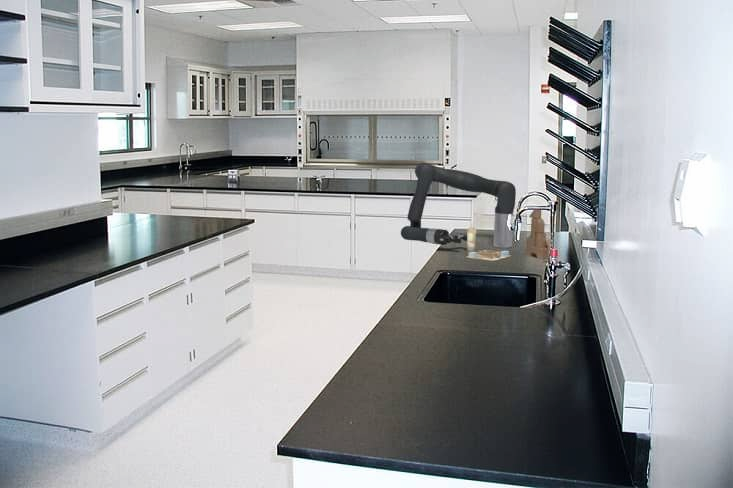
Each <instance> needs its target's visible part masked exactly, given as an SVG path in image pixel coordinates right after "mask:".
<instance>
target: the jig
mask: <svg viewBox="0 0 733 488" xmlns="http://www.w3.org/2000/svg"><path fill="white" fill-rule="evenodd" d="M476 252H477V257H475V258H474V259H477V260H483V261H489V262H494V261H498V260H501V259H505V258H509V257H511V255H510V254H509V256H506V257H501V251H497V250H496V251H495V250H488V249H484V250H480V251H476ZM466 258H470V259H472V258H471V257H469V255H468V256H466Z"/></svg>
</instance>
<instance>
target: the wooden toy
mask: <svg viewBox="0 0 733 488" xmlns="http://www.w3.org/2000/svg"><path fill="white" fill-rule="evenodd" d="M529 218H530V220H531V221H530V222H531V223H530V235H529V236H528V237H526V239H525V240H526V242H525V243H526V244H525V255H526V256H528V257H537V259H538V260H542V261H543V260H544V261H543V263H548V262H547V261H548V260H549V259H548V254H549V249H550V240H551V239H547V238H546V237H547V233H545V228H546V226H545V224H546V223H545V221H544V219H543V218H542V209H541V210H534V209H533V210H532V212H531V213H530V215H529Z"/></svg>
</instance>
